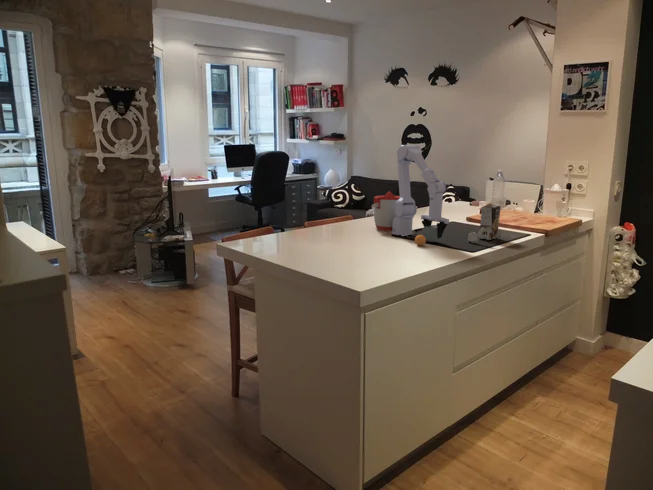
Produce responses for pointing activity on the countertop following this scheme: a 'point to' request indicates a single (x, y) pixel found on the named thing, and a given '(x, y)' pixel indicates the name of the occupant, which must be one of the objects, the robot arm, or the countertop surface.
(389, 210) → the citrus juicer
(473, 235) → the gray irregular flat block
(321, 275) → the countertop surface
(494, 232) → the coffee box
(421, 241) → the ball
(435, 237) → the grey-green cube
